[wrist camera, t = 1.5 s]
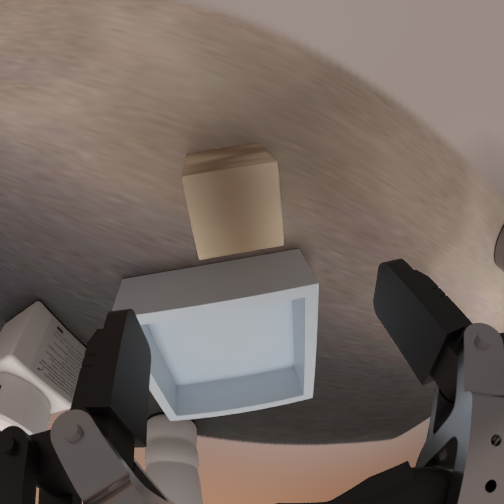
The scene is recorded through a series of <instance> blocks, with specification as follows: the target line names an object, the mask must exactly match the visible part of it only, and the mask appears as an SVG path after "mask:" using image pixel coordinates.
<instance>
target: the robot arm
mask: <svg viewBox="0 0 504 504" xmlns="http://www.w3.org/2000/svg"><path fill="white" fill-rule="evenodd" d="M495 262H496V265H497V266H498V267H499V268H500V269H501V270H503V271H504V227H503V229H502V231H501V233H500V236H499V238H498V242H497V245H496V249H495ZM373 303H374V309H375V312H376V315H377V317H378V318H379V320H380V321H381V323H382V324H383V325H384V327H385V328H386V330H387V331H388V333H389V334H390V336H391V337H392V339H393V340H394V342H395V343H396V345H397V346H398V348H399V350H400V351H401V353H402V354H403V356H404V357H405V359H406V360H407V362H408V363H409V365H410V367H411V368H412V370H413V371H414V373H415V375H416V376H417V378H418V379H419V381H420V383H421V384H422V386H423V385H425V384H427V383H429V382H432V381H435V382H436V384H437V386H436V388H435V391H434V398H433V405H432V412H431V418H430V424H429V429H428V435H427V439H426V442H425V444H424V446H423V448H422V450H421V452H420V455H419V457H418V460H417V463H416V466H415V467H413V468H411V467H410V465H409V463H408V461H406V462H404V463H402V464H400V465H398V466H395V467H393V468H391V469H388V470H386V471H384V472H381V473H379V474H376V475H374V476H371V477H369V478H367V479H366V480H364V481H363V482H361V483H360V484H358V485H356V486H355V487H353V488H352V489H350V490H348V491H347V492H345V493H343V494H342V495H340V496H338V497H336V498H335V499H333V500H331V501H328V502H319V503H277V504H504V333H498V331H497V330H495V329H494V328H493V327H491V326H489V325H487V324H484V323H474V324H472V323H471V322H470V320H469V319H468V318H467V317H466V316H465V315H464V314H463V313H462V311H461V310H460V309H459V308H458V307H457V306H456V305H455V304H454V303H453V302H452V301H451V299H450V298H449V297H448V296H445V293H444V292H443V291H442V290H441V289H440V288H438V286H437V285H436V284H435V283H434V282H433V281H432V280H431V279H430V278H429V277H428V276H426V275H425V274H423V273H421V272H419V271H417V270H413V269H412V268H411V267H410V266H409V265H408V264H407V263H406V262H405V261H404V260H403V259H396V260H392V261H388V262H383V263H381V264H380V265H379V268H378V274H377V281H376V287H375V293H374V300H373ZM84 355H85V357H84V358H83V361H82V365H81V366H82V368H80V372H79V376H78V380H77V384H76V388H75V392H74V396H73V400H72V405H71V409H70V410H69V411H66V412H64V413H63V414H61V415H60V416H59V417H58V418H57V419H56V420H55V421H54V423H53V425H52V428H51V430H47V431H44V432H40V433H36V434H32V435H28V434H27V433H26V432H25V431H24V430H23V429H21V428H20V427H18V426H9V427H7V428H5V429H4V430H2V431H1V432H0V504H35V497H36V487H38V488H39V504H82V502H83V504H174V503H173V502H171V501H170V499H169V498H168V497H167V496H166V495H165V494H164V493H163V492H162V491H161V490H160V489H159V487H158V486H157V485H156V484H155V483H154V482H153V481H152V479H151V478H150V477H149V476H148V475H147V473H146V472H145V471H144V470H143V469H142V468H141V466H140V465H139V464H138V462H137V461H136V460H135V459H134V447H146V445H147V416H148V397H149V383H150V370H151V351H150V347H149V343H148V341H147V339H146V337H145V334H144V332H143V330H142V328H141V326H140V323H139V321H138V319H137V317H136V314H135V312H134V311H133V310H132V309H124V310H117V311H110V312H109V313H108V314H107V317H106V321H105V324H104V328H103V329H97V330H96V332H95V333H94V334H93V336H92V337H91V338H90V340H89V341H88V344H87V347H86V351H85V354H84Z"/></svg>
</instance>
